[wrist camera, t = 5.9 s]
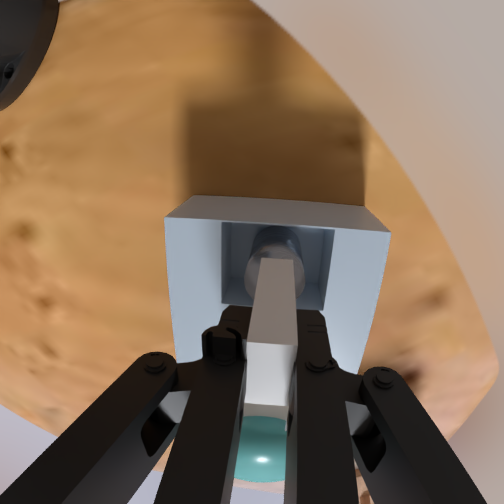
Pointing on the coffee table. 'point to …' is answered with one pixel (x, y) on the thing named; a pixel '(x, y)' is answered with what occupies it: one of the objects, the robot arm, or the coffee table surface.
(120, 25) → the coffee table surface
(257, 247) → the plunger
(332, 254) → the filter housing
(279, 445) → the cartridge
